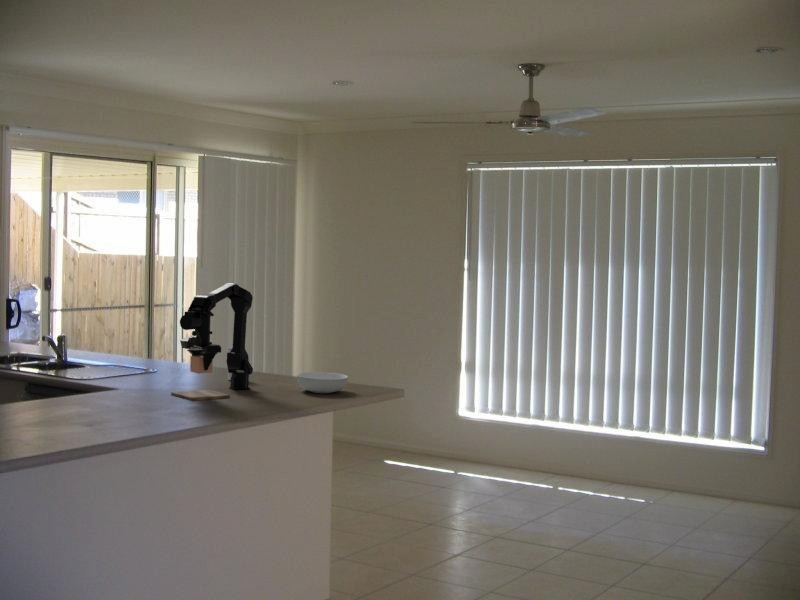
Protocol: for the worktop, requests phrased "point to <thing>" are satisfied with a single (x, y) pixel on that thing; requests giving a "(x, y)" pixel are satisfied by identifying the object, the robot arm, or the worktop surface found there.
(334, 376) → the serving bowl
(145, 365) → the worktop surface
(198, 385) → the worktop surface
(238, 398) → the worktop surface
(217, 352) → the robot arm
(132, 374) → the worktop surface
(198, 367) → the terracotta cube
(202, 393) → the walnut board
